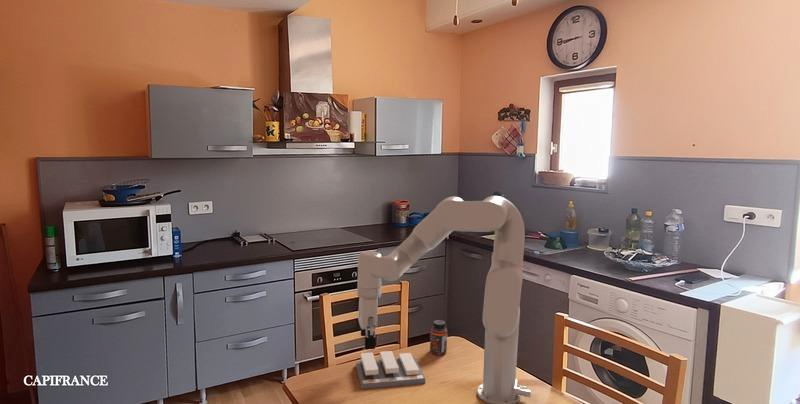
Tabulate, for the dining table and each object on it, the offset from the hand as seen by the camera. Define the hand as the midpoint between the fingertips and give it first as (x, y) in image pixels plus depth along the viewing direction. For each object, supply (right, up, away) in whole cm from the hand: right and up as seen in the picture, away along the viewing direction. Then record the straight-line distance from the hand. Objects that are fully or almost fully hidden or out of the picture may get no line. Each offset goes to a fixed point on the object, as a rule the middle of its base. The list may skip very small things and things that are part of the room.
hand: (367, 342), depth 157 cm
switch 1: (0, -8, +1) cm, 8 cm away
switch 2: (+13, -9, +4) cm, 16 cm away
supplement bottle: (+24, -9, +18) cm, 31 cm away
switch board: (+7, -11, +2) cm, 13 cm away
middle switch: (+7, -8, +2) cm, 11 cm away
